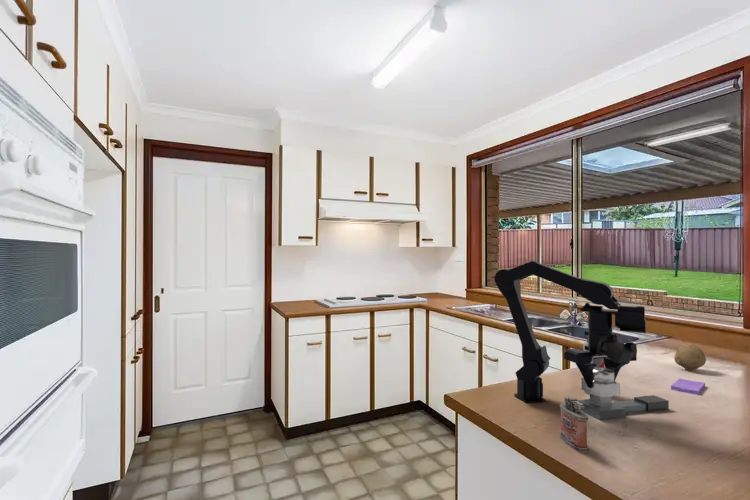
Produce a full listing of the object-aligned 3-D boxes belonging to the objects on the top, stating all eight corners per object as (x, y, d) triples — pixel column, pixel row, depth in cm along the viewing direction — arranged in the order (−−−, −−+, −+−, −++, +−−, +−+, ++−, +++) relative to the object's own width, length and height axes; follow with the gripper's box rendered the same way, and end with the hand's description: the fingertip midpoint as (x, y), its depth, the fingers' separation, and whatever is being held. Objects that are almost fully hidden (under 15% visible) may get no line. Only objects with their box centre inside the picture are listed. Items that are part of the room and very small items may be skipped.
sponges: (670, 391, 125) (670, 385, 125) (678, 382, 133) (678, 377, 133) (698, 397, 119) (698, 390, 119) (705, 387, 128) (705, 382, 128)
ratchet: (600, 420, 100) (599, 401, 100) (577, 409, 108) (576, 391, 108) (675, 412, 106) (674, 394, 106) (648, 402, 114) (647, 384, 114)
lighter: (556, 435, 91) (556, 392, 91) (570, 435, 92) (569, 392, 92) (577, 452, 83) (576, 405, 83) (592, 452, 83) (591, 405, 84)
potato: (713, 374, 141) (713, 347, 141) (688, 374, 141) (688, 346, 142) (693, 367, 150) (693, 341, 150) (670, 367, 150) (670, 341, 151)
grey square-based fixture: (600, 397, 101) (600, 374, 101) (581, 389, 107) (581, 367, 107) (620, 395, 103) (620, 372, 103) (600, 387, 109) (600, 366, 109)
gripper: (594, 336, 95) (595, 400, 95) (655, 333, 100) (655, 394, 99) (562, 328, 106) (562, 385, 106) (618, 325, 111) (618, 381, 110)
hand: (600, 386), depth 105 cm, fingers closed on grey square-based fixture, 6 cm apart
